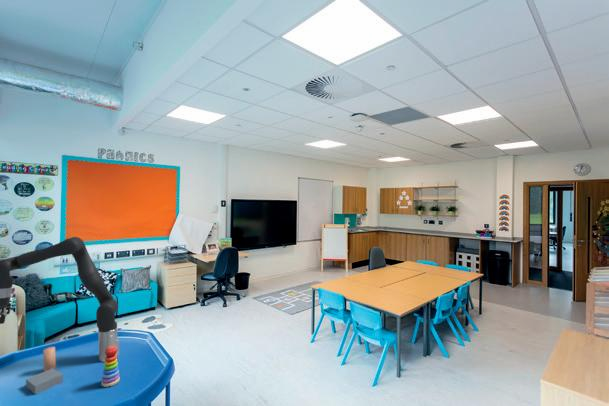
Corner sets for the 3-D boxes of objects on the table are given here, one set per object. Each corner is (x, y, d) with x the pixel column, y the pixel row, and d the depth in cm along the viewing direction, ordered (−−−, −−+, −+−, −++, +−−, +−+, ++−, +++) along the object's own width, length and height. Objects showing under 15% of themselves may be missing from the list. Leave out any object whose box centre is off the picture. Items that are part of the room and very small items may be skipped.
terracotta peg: (53, 366, 167) (52, 345, 167) (57, 369, 165) (56, 348, 164) (42, 371, 163) (41, 349, 162) (46, 374, 160) (45, 352, 160)
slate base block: (53, 375, 159) (53, 368, 159) (62, 381, 154) (62, 374, 154) (26, 387, 150) (26, 379, 150) (35, 394, 144) (35, 386, 144)
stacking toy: (110, 388, 148) (110, 351, 148) (97, 386, 150) (96, 350, 149) (123, 379, 156) (122, 343, 156) (110, 377, 158) (109, 342, 157)
